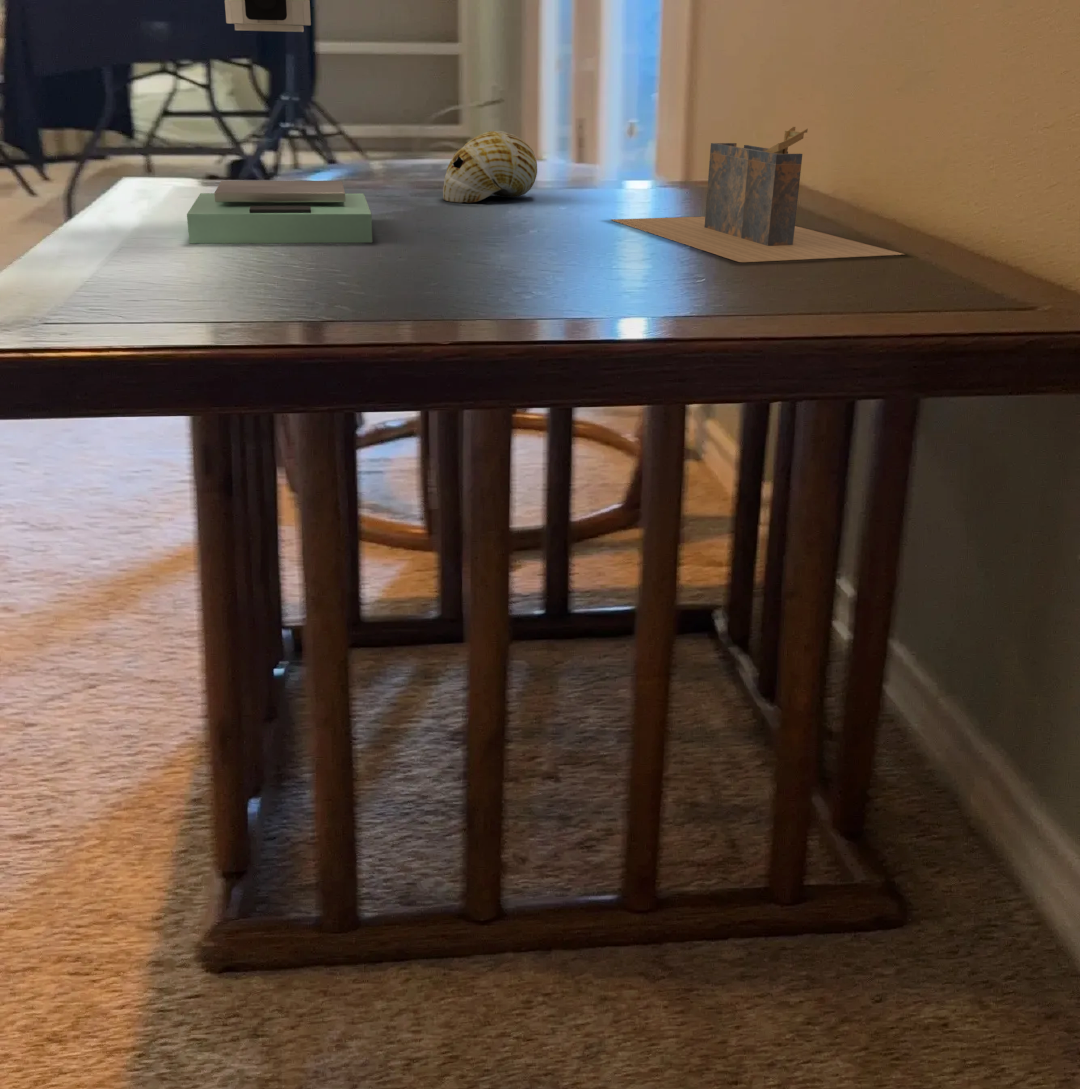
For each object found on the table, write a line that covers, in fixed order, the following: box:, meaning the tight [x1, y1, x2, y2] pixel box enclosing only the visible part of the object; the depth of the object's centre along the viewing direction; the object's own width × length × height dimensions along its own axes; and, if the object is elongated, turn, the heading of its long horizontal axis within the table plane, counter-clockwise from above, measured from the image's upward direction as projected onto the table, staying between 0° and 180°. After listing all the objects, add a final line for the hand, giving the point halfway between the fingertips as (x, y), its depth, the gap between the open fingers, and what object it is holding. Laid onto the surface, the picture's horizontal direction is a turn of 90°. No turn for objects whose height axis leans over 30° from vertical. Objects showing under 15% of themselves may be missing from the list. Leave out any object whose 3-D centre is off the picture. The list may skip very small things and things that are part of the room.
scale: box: [186, 192, 373, 245], centre depth 104 cm, size 15×14×3 cm
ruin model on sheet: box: [612, 126, 905, 263], centre depth 106 cm, size 25×16×10 cm, turn 22°
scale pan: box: [213, 180, 346, 202], centre depth 105 cm, size 11×9×1 cm
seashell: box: [442, 130, 538, 204], centre depth 128 cm, size 10×10×10 cm
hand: (268, 18), depth 97 cm, fingers closed on bowl, 6 cm apart
